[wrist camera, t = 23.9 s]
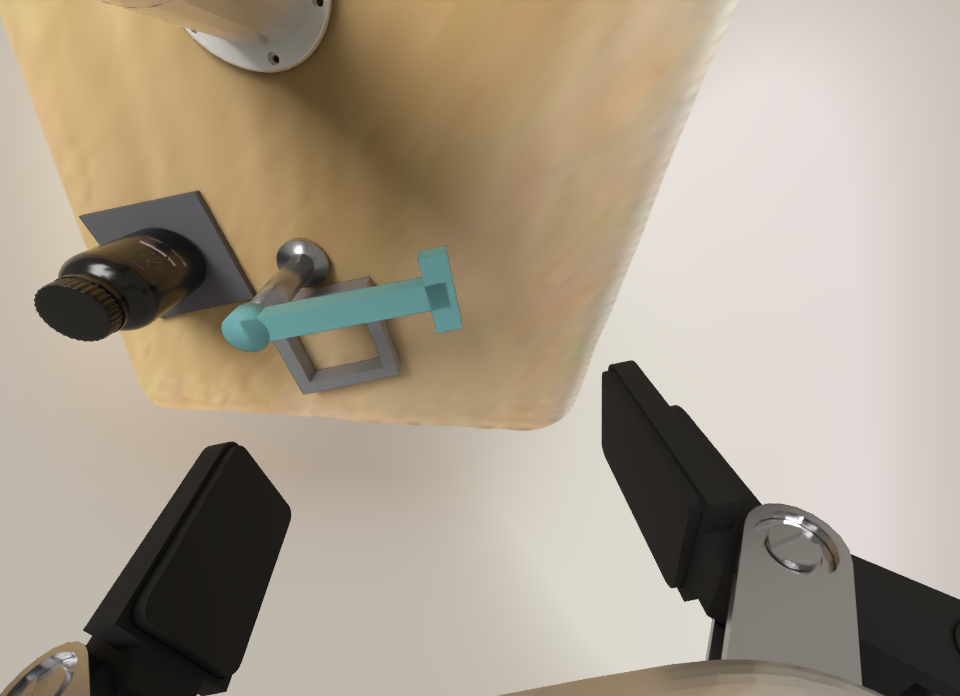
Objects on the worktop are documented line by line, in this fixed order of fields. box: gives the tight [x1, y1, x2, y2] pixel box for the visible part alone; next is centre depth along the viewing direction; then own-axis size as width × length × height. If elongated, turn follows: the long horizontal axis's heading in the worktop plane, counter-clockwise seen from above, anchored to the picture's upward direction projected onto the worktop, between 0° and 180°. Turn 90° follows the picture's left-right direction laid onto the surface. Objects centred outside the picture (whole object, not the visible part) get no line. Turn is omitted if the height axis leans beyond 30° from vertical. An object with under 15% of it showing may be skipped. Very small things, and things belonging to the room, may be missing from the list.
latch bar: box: [222, 246, 462, 352], centre depth 28 cm, size 17×6×2 cm, turn 99°
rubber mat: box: [79, 191, 256, 318], centre depth 38 cm, size 11×11×1 cm
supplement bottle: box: [34, 227, 206, 342], centre depth 33 cm, size 7×7×12 cm
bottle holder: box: [273, 277, 401, 395], centre depth 44 cm, size 12×12×2 cm
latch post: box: [249, 238, 329, 307], centre depth 35 cm, size 5×5×13 cm
